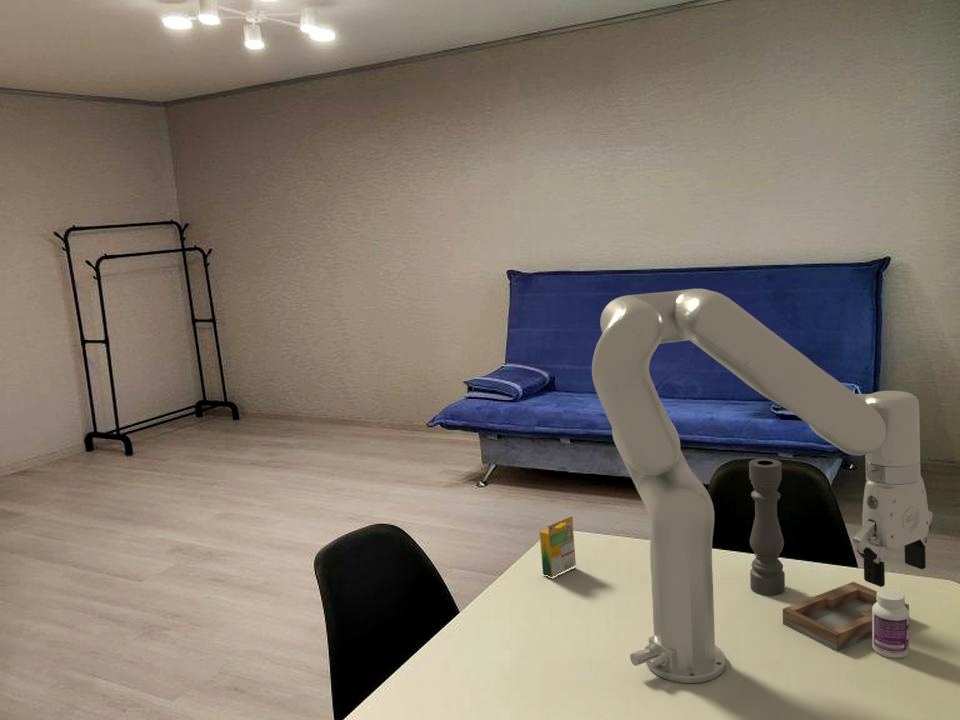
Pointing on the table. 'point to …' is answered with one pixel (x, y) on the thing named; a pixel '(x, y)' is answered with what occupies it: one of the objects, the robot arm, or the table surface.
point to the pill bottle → (890, 624)
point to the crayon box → (558, 547)
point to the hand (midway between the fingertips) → (895, 574)
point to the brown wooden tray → (835, 616)
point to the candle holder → (766, 528)
